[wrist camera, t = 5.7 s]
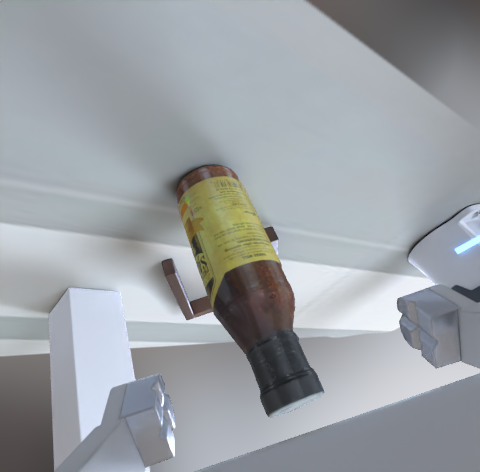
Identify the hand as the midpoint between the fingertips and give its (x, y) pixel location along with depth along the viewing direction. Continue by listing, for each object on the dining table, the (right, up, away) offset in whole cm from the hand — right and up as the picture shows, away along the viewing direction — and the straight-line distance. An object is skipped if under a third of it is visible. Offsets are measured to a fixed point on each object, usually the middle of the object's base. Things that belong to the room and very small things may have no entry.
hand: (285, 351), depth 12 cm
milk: (-20, -4, +30) cm, 36 cm away
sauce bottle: (-5, +8, +22) cm, 24 cm away
